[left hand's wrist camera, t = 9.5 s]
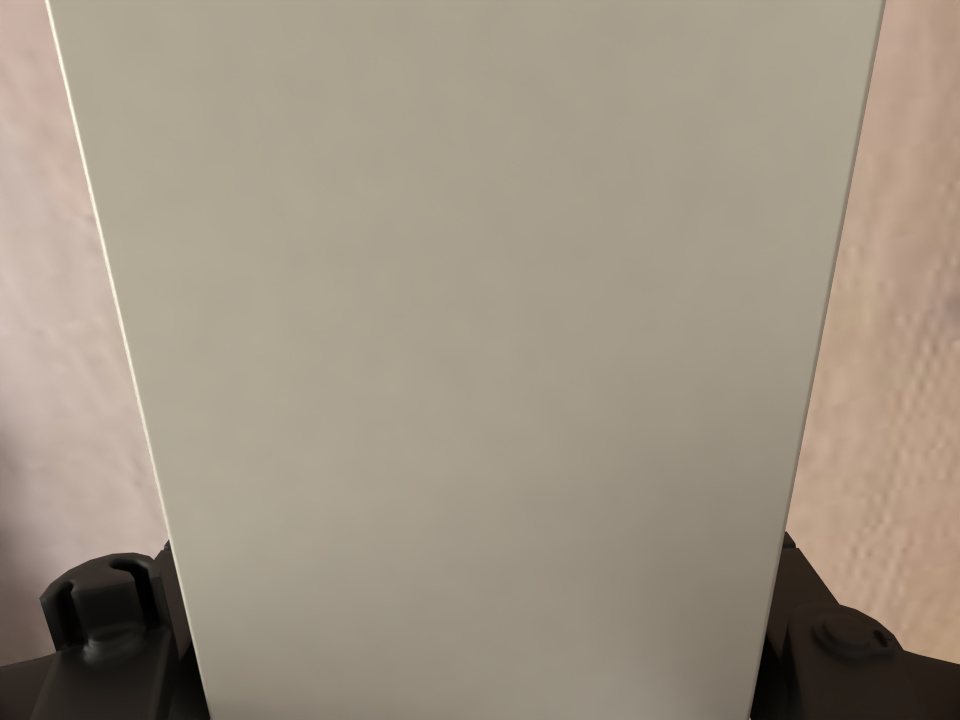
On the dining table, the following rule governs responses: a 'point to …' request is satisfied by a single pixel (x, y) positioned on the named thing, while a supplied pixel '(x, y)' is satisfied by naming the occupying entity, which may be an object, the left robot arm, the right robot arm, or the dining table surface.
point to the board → (472, 333)
